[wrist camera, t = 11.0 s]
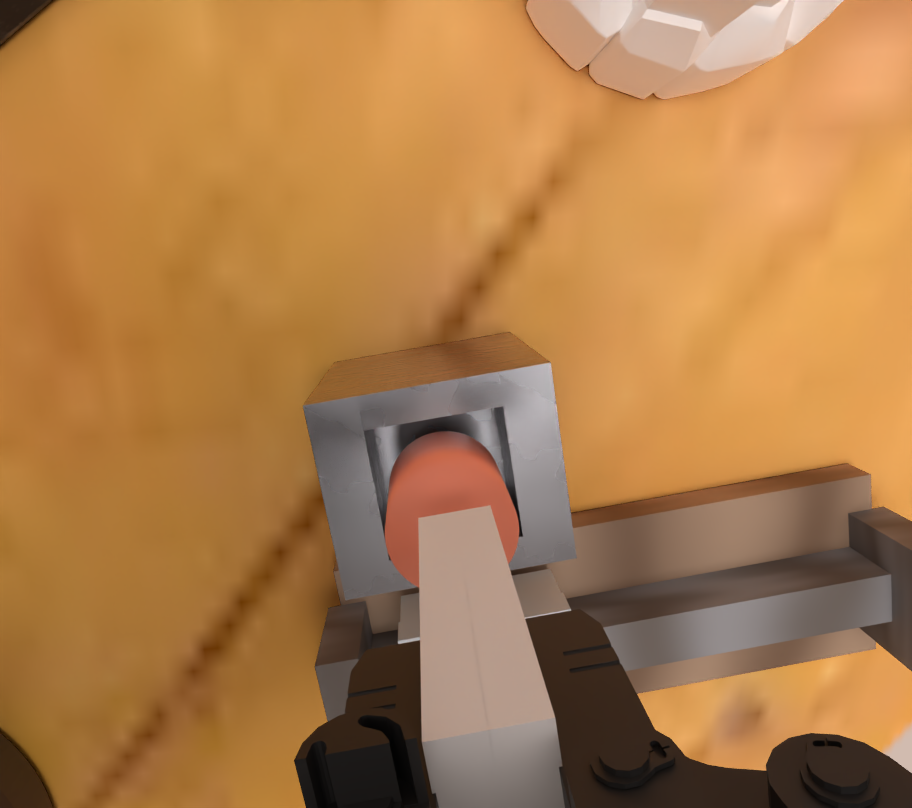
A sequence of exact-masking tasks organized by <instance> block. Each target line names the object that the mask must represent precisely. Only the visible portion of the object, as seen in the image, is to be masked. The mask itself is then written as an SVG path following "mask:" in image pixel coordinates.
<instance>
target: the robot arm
mask: <svg viewBox="0 0 912 808" xmlns="http://www.w3.org/2000/svg"><path fill="white" fill-rule="evenodd" d="M418 529H419V594H420V640H418V641H412V642H407V643H401V644H396V645H390V646H385V647H379V648H374V649H368V650H366V651H365V653H364V654H363V655H362V657H361V658H360V659H359V661H358V662H357V664H356V665H355V666H354V668H353V669H352V670H351V674H350V680H349V687H348V693H347V694H348V698H347V700H346V706H345V714H342V715H339V716H337V717H335V718H333V719H332V720H330V721H328V722H327V723H325V724H323V725H322V726H320V727H318V728H317V729H316V730H315V731H314V732H313V733H312V734H311V735H310V736H309V737H308V738H307V739H306V740H305V741H304V742H303V743H302V745H301V747H300V750H299V752H298V754H297V756H296V758H295V760H294V762H295V766H296V770H297V774H298V778H299V782H300V786H301V790H302V794H303V797H304V801H305V805H306V808H912V773H910V772H909V771H908V770H906V769H905V768H904V767H902V766H901V765H899V764H898V763H897V762H896V761H894V760H893V759H891V758H890V757H889V756H887V755H885V754H883V753H881V752H880V751H878V750H876V749H874V748H873V747H871V746H869V745H867V744H865V743H863V742H860V741H856V740H853V739H850V738H846V737H843V736H839V735H832V734H815V733H810V734H805V735H801V736H796V737H791V738H788V739H787V740H785V741H784V742H782V743H781V744H779V745H778V746H777V747H775V748H774V749H773V750H772V752H771V755H770V757H769V759H768V762H767V764H766V769H767V771H761V770H747V769H734V768H724V767H718V766H712V765H707V764H704V763H701V762H698V761H695V760H692V759H689V758H688V757H686V756H685V755H684V754H683V752H682V751H681V750H680V749H679V748H678V747H677V745H676V744H675V743H674V742H673V741H672V740H671V739H670V738H669V737H667V736H665V735H663V734H661V733H660V732H658V731H656V730H655V729H654V727H653V725H652V723H651V721H650V719H649V717H648V715H647V713H646V711H645V709H644V707H643V705H642V703H641V701H640V699H639V697H638V695H637V693H636V691H635V690H634V688H633V686H632V684H631V682H630V680H629V678H628V676H627V674H626V672H625V670H624V668H623V666H622V664H620V661H619V658H618V656H617V654H616V652H615V650H614V648H613V647H612V646H611V642H610V640H609V638H608V637H607V635H606V633H605V631H604V629H603V627H602V625H601V623H600V622H598V621H597V620H595V619H594V618H592V617H591V616H589V615H588V614H586V613H585V612H584V611H582V610H581V609H576V610H571V611H565V612H560V613H554V614H549V615H543V616H537V617H532V618H526V619H525V617H524V614H523V611H522V607H521V604H520V601H519V598H518V594H517V591H516V588H515V585H514V581H513V578H512V575H511V571H510V568H509V565H508V562H507V558H506V555H505V552H504V549H503V545H502V542H501V539H500V536H499V532H498V529H497V526H496V522H495V519H494V516H493V513H492V509H491V506H490V505H489V506H483V507H478V508H472V509H466V510H461V511H455V512H449V513H444V514H438V515H432V516H427V517H421V518H418ZM0 808H53V807H52V804H51V801H50V799H49V796H48V794H47V792H46V790H45V788H44V786H43V784H42V782H41V780H40V778H39V777H38V775H37V773H36V772H35V770H34V769H33V768H32V766H31V765H30V763H29V762H28V761H27V760H26V758H25V757H24V756H23V755H22V754H21V752H20V751H19V750H18V749H17V748H16V747H15V746H14V745H13V744H12V743H11V742H10V741H9V740H8V739H6V738H5V737H4V736H3V735H2V734H1V733H0Z"/></svg>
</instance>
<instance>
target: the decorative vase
mask: <svg viewBox="0 0 912 808" xmlns="http://www.w3.org/2000/svg"><path fill="white" fill-rule="evenodd" d="M843 1H844V0H528V2H527V5H526V10H527V12H528V14H529V16H530V18H531V20H532V22H533V24H534V26H535V27H536V29H537V30H538V31H539V33H540V34H541V35H542V37H543V38H544V39H545V40H546V41H547V42H548V43H549V44H550V46H551V47H552V48H553V49H554V50H555V51H556V52H557V53H558V54H559V55H560V56H561V57H562V58H563V59H564V61H565V62H566V63H567V64H568V65H569V66H570V67H572V68H573V69H575V70H576V71H578V70H580V69H582V68H583V67H585V66H586V65H588V64H589V75H590V76H591V77H592V78H593V80H594V81H595V82H596V83H597V84H600V85H603V86H606V87H608V88H611V89H614V90H617V91H620V92H623V93H626V94H629V95H631V96H634V97H637V98H640V99H643V100H644V99H645V98H647V97H648V96H649V95H651V94H652V93H654V94H655V96H656V97H658V98H661V99H664V100H665V99H669V98H674V97H679V96H684V95H689V94H694V93H699V92H703V91H706V90H710V89H713V88H716V87H719V86H722V85H726V84H728V83H730V82H732V81H733V80H735V79H737V78H739V77H741V76H742V75H744V74H746V73H748V72H750V71H751V70H753V69H755V68H757V67H759V66H760V65H762V64H764V63H766V62H768V61H769V60H771V59H773V58H775V57H776V56H778V55H780V54H781V53H782V52H783V51H785V50H787V49H789V48H791V47H792V46H794V45H796V44H797V43H799V42H800V41H801V40H802V39H803V38H804V37H805V36H807V35H808V34H809V33H810V32H811V31H812V30H813V29H815V28H816V27H817V26H818V25H819V24H820V23H821V22H823V21H824V20H825V19H826V18H827V17H828V16H829V15H830V14H831V13H832V12H833V11H834V10H835V9H836V7H837V6H838V5H839V4H840V3H842V2H843Z"/></svg>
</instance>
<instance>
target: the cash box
mask: <svg viewBox="0 0 912 808" xmlns="http://www.w3.org/2000/svg"><path fill="white" fill-rule="evenodd" d="M51 1H52V0H0V45H1V44H2V43H3V42H5V41H6V40H7V39H8V38H9V37H10V36H12V35H13V34H14V33H15V32H16V31H17V30H19V29H20V28H21V27H22V26H23V25H24V24H25V23H27V22H28V21H29V20H30V19H31V18H32V17H34V16H35V15H36V14H37V13H38V12H39V11H41V10H42V9H43V8H44V7H45V6H46V5H48V4H49V3H50V2H51Z"/></svg>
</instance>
